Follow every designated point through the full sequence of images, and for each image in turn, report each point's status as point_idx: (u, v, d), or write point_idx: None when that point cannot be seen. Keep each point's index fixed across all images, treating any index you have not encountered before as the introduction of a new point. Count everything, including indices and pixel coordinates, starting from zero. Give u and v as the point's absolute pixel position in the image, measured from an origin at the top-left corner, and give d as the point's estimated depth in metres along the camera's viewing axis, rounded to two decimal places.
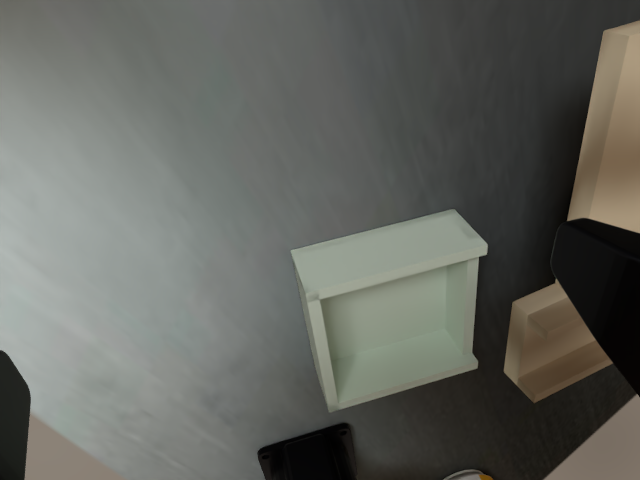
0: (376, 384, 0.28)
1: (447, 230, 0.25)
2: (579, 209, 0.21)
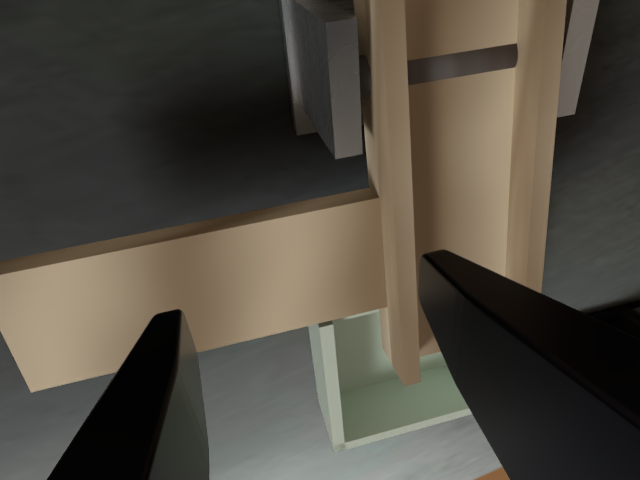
0: None
1: None
2: None
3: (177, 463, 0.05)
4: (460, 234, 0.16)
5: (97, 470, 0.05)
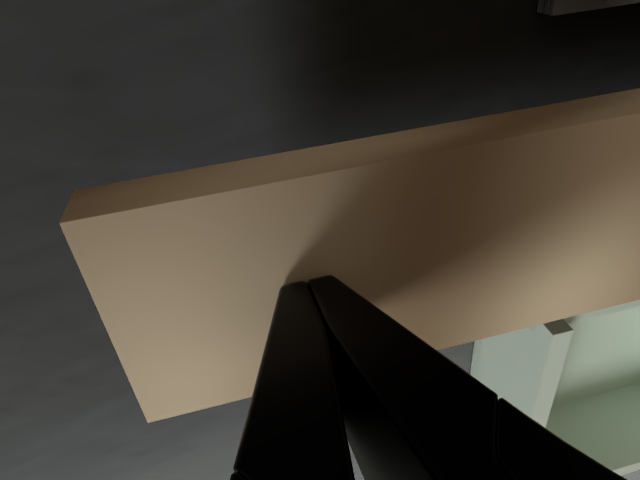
0: None
1: None
2: None
3: None
4: None
5: (293, 417, 0.05)
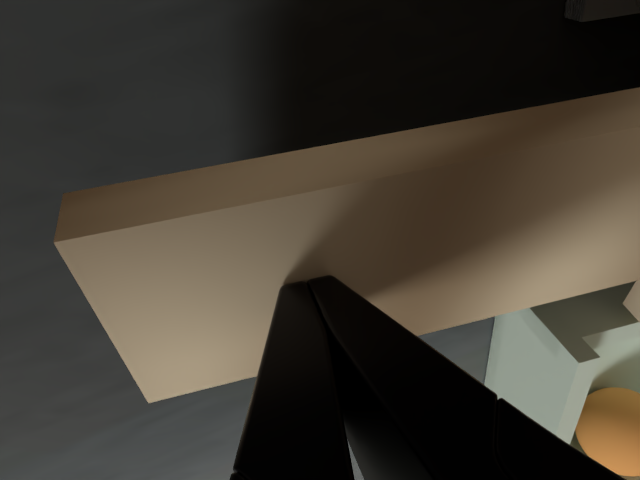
0: None
1: (527, 343, 0.14)
2: None
3: None
4: None
5: (292, 418, 0.05)
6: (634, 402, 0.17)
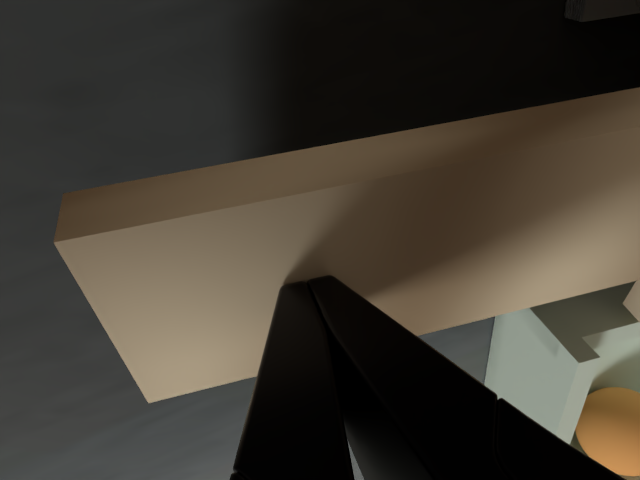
0: None
1: (527, 343, 0.14)
2: None
3: None
4: None
5: (292, 418, 0.05)
6: (634, 402, 0.17)
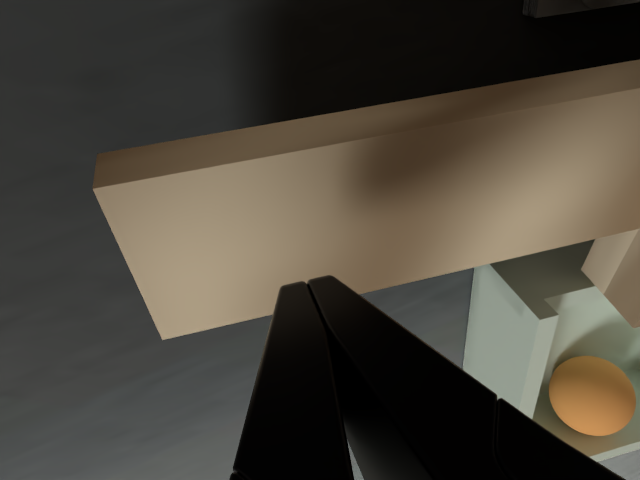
0: None
1: (499, 308, 0.16)
2: None
3: None
4: None
5: (292, 418, 0.05)
6: (600, 367, 0.19)
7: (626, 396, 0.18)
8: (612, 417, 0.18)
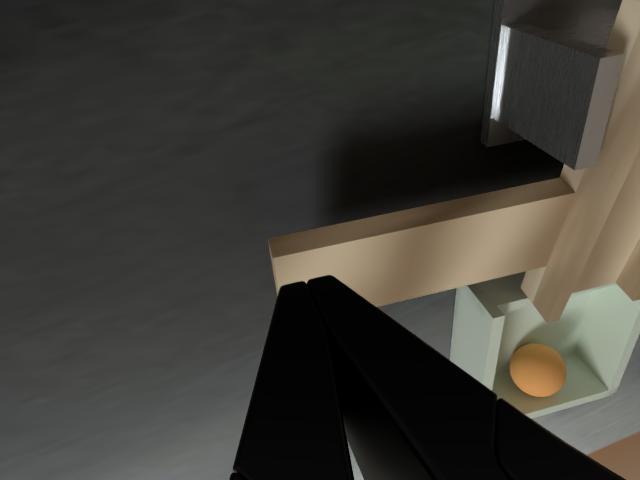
0: (613, 356, 0.28)
1: (471, 311, 0.25)
2: None
3: None
4: (620, 216, 0.20)
5: (292, 418, 0.05)
6: (542, 350, 0.28)
7: (558, 369, 0.27)
8: (548, 383, 0.27)
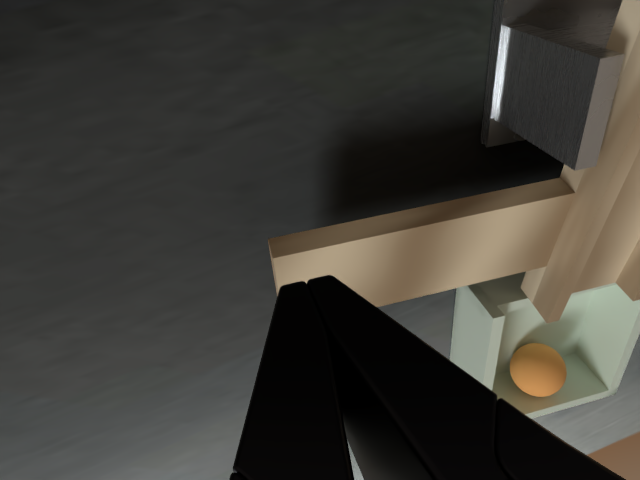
0: (613, 356, 0.28)
1: (471, 311, 0.25)
2: None
3: None
4: (620, 216, 0.20)
5: (292, 418, 0.05)
6: (542, 349, 0.28)
7: (558, 368, 0.27)
8: (548, 382, 0.27)
